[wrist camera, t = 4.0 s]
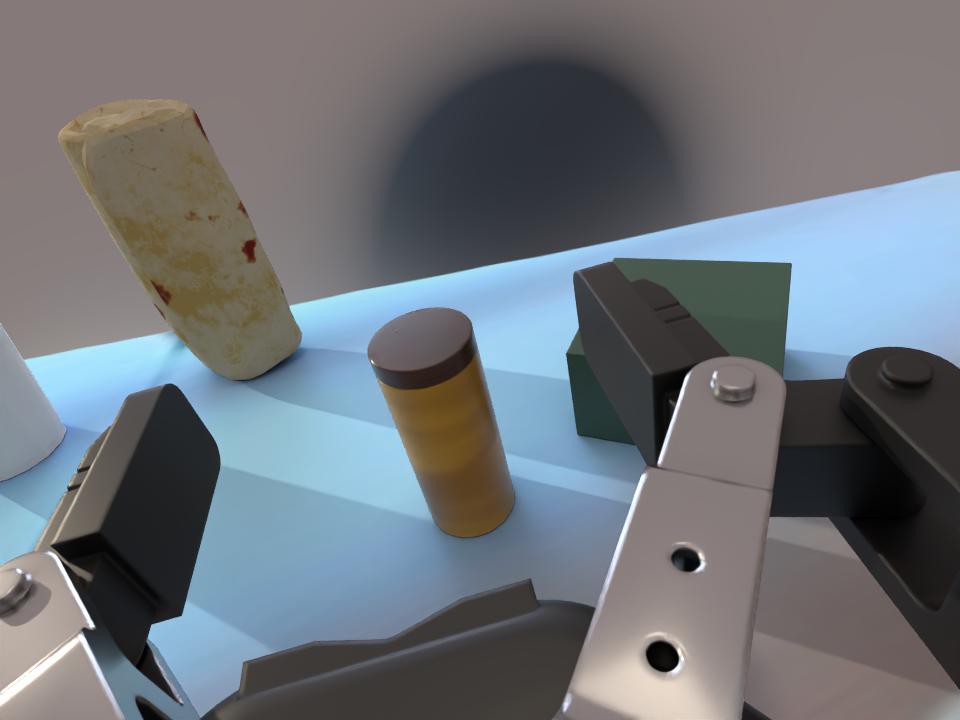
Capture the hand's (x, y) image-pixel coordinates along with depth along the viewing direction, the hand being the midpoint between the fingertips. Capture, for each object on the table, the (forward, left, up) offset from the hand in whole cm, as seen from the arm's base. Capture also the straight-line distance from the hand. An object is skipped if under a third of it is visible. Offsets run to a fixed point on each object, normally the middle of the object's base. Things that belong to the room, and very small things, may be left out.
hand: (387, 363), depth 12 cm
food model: (+17, +30, -18) cm, 39 cm away
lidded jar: (+9, +6, -18) cm, 21 cm away
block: (+20, -3, -18) cm, 27 cm away
